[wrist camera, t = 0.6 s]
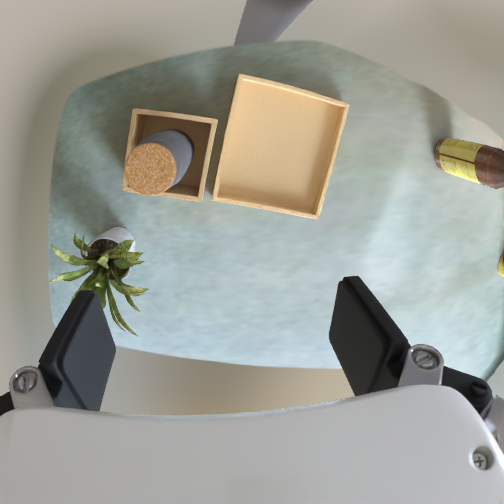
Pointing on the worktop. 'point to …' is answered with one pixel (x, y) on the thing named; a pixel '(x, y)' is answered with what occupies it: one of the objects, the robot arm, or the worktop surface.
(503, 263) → the canned food
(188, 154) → the bottle
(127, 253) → the house plant
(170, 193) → the bin
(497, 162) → the sauce bottle
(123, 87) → the worktop surface
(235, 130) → the tray
